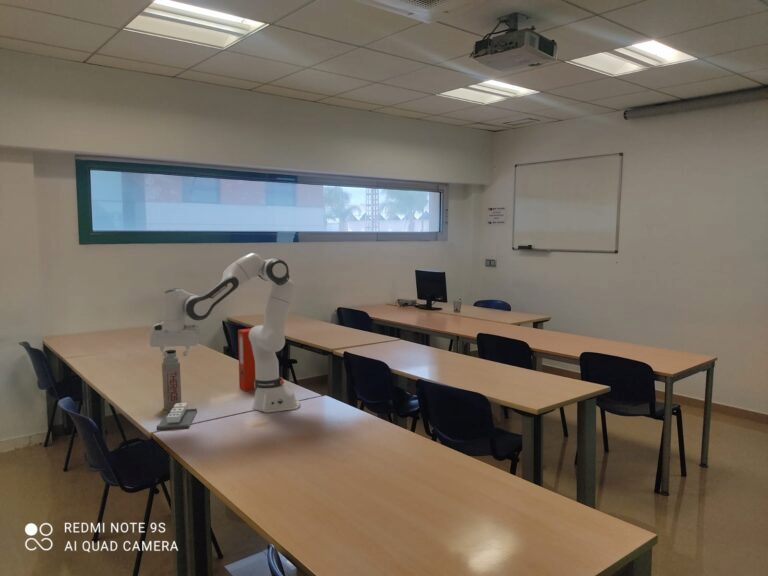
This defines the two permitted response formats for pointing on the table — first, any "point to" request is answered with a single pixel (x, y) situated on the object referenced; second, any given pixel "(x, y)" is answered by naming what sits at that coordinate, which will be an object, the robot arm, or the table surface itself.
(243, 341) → the file binder
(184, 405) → the key one
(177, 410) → the key two
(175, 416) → the key three
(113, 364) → the table surface
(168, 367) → the thermos bottle
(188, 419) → the keypad board
